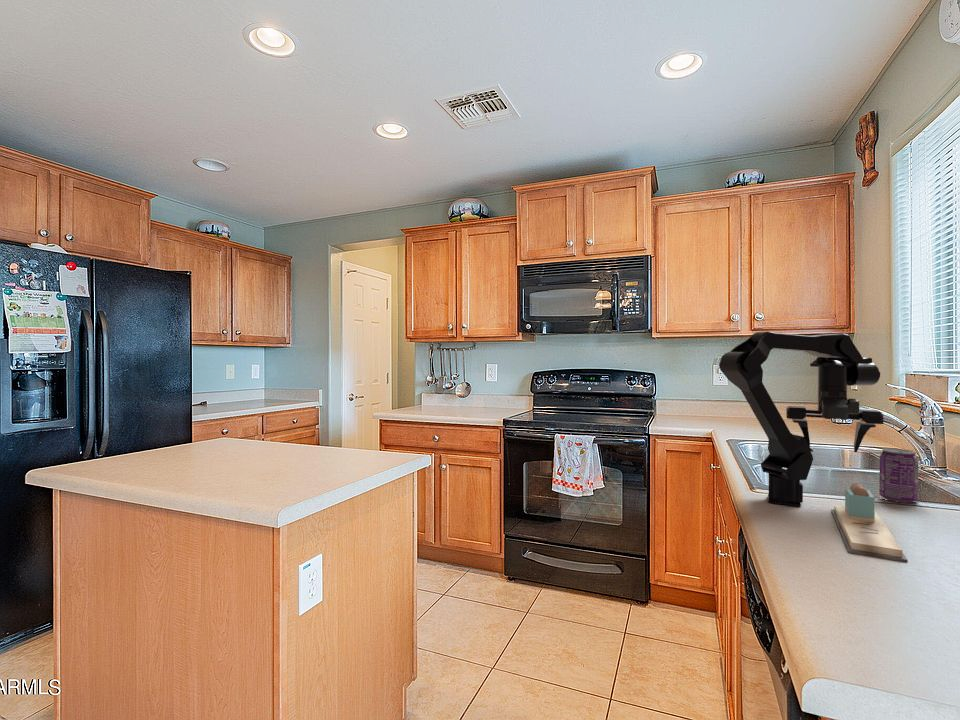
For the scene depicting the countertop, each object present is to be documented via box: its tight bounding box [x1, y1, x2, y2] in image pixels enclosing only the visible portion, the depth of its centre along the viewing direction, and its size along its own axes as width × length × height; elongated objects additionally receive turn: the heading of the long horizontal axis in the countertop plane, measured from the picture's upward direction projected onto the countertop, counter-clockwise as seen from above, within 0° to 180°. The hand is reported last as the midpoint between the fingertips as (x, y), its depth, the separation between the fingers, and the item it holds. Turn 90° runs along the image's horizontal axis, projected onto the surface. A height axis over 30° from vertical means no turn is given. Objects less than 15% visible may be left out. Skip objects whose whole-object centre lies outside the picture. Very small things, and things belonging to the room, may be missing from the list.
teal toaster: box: [844, 483, 876, 523], centre depth 102 cm, size 4×7×6 cm, turn 150°
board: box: [831, 504, 908, 563], centre depth 97 cm, size 8×27×2 cm, turn 150°
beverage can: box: [878, 447, 919, 503], centre depth 119 cm, size 7×7×12 cm
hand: (831, 450), depth 119 cm, fingers open, 9 cm apart
